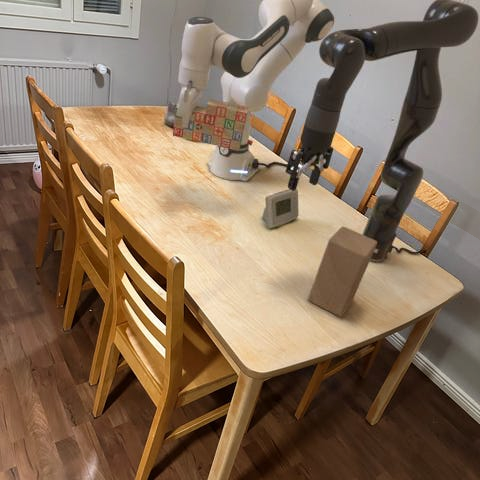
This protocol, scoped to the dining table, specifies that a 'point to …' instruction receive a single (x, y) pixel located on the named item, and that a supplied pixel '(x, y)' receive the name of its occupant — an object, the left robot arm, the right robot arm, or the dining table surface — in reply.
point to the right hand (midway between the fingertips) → (302, 186)
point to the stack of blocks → (214, 124)
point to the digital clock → (281, 208)
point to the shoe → (170, 114)
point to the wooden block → (341, 270)
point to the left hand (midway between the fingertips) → (187, 123)
